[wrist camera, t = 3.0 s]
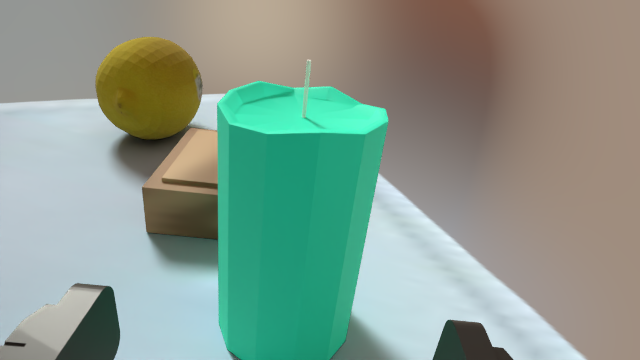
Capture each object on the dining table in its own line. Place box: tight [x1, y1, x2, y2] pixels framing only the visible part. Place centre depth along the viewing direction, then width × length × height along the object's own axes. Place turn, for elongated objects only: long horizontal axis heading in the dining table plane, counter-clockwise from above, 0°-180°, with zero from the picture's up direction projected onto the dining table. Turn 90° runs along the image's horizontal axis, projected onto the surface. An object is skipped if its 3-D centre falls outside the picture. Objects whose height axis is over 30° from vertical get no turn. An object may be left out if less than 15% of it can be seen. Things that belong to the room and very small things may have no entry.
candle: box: [217, 60, 388, 360], centre depth 17 cm, size 6×6×12 cm
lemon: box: [96, 37, 202, 139], centre depth 35 cm, size 11×8×8 cm
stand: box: [142, 128, 218, 239], centre depth 28 cm, size 9×9×3 cm
